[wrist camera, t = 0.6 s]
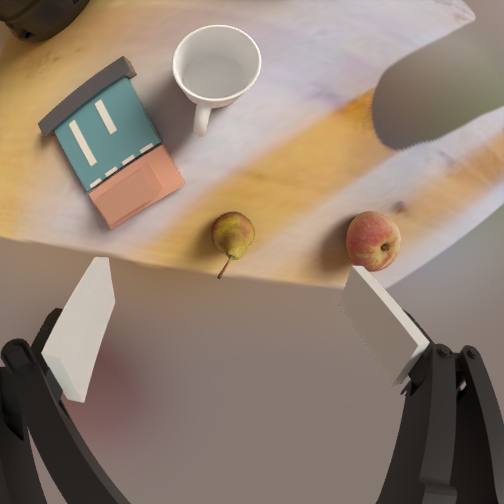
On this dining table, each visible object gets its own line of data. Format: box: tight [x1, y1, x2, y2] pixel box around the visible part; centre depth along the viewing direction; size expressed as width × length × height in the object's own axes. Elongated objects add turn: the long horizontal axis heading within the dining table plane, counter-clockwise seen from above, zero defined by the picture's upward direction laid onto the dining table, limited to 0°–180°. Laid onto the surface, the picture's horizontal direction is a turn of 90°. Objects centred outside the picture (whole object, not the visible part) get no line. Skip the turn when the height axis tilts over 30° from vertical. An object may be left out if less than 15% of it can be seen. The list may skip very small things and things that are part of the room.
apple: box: [346, 211, 401, 272], centre depth 39 cm, size 9×9×8 cm
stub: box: [89, 144, 185, 230], centre depth 31 cm, size 6×12×6 cm, turn 115°
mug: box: [172, 25, 261, 137], centre depth 25 cm, size 12×8×10 cm
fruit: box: [211, 212, 255, 279], centre depth 33 cm, size 6×6×12 cm
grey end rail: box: [38, 56, 137, 137], centre depth 25 cm, size 2×14×3 cm, turn 115°
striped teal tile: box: [54, 76, 162, 191], centre depth 28 cm, size 13×12×2 cm
